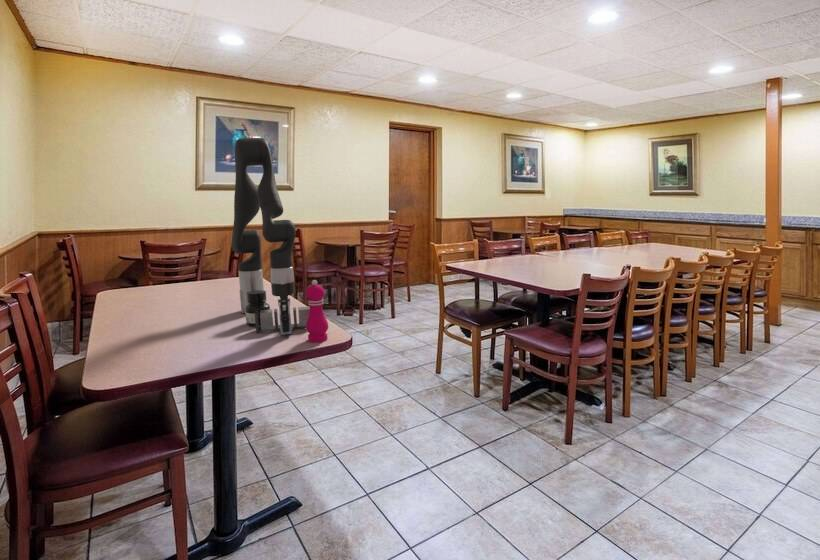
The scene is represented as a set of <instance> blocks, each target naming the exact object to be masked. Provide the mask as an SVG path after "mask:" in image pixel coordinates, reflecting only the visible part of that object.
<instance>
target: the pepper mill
mask: <svg viewBox="0 0 820 560" xmlns="http://www.w3.org/2000/svg"><path fill="white" fill-rule="evenodd" d="M325 293H326V292H325V288H324V287H323V286H322V285H320V284H318V281H317V280H316V279H313V280H312V281H311V284H310V285H309V286H307V288H306V289H305V297H306V298H307V299H308V300H307V305H308V306H309V308H310V313H309V317H308V320H307V323H306V329H305V330H306V332H308V335H307V339H308V342H309V341H310V343H314V342H318V343H323V341H324V342H326V341H327V340H328V333H327V331H328V330H329V323H328V320H327V317H326V316H325V314H324V310H323V305H324V299H323V298H324V296H325Z"/></svg>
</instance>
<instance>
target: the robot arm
mask: <svg viewBox="0 0 820 560" xmlns="http://www.w3.org/2000/svg"><path fill="white" fill-rule="evenodd" d="M271 153H272V152H271V149H270V146H269V143H268V141H267V140H266V139H265V138H263V137H246V138H245V137H244V138H243V137H241V138H238V139H236V140H235V144H234V165H235V167H234V168H235V180H234V181H235V183H234V184H235V186H234V195H233V196H234V200H233V201H234V202H233V207H234V209H233V212H234V213H233V215H234V216H233V227H232V234H231V247H232V250H233V252H234V253H235V254H240V255H241V254H242V255H243V254H251V256H250V257H248V258H247V259H246V260H243V261H240V262H239V263H238V265H237V269H238V281H239V299H240V300H239V301H240V307H241V309H240V311H241V314H245V307H246V306H247V305H248V304H249V303H248V301H247V292H249V291H255V290H264V275H263V264H262V261H263V260H262V240H261V234H262V237H263V239H264V241H266V242H268V243H281V242H282V243H281V246H279V247H278V248H275V249H271V251H270V252H269V261H270V283H271V284H270V285H271V286H270V287H271V295H272V296H274V297H279V299H277V305H278V309H279V310H278V312H279V313H280V315H281V321H282V328H283V332H289V314H290V315H291V298H289V296H292V295H293V296H294V294H296V286H295V274H294V268H293V267H294V266H293V247H294V243H295V239H296V233H297V232H296V229H297V228H296V225H295V223H294V222H293V221H292V220H291V219H279V220H277V219H276V218H279V217H281V216H282V215H283V213H284V207H283V204H282V203H283V202H282V201H281V198H280V195H279V191H278V187H277V181H276V176H275V169H274V165H273V163H274V162H273V158H272V154H271ZM253 166H255V167H257V166H262V168H263V169H262V170H263V171H262V177H261V179H260V182H259V184H258V186H257V184H256V183H255V182H254V181H253V180H252V179H251V177H250V175H249V173H248V172H247V168H248V167H253ZM260 210H261V217H262V218H261V219H262V224H261V225H262V229H261V234H260V231H259V230H257V229H249V230H248V229H247V230H246V227H247V226H248V224H250V223H251V222H252V221H253V220H254V218H255V217H256V216H257V215H258V213H259V211H260ZM274 219H275V220H274ZM264 291H265V290H264ZM279 313H278V314H279ZM280 315H279V316H280ZM283 315H287V317H283Z"/></svg>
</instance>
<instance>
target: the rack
mask: <svg viewBox="0 0 820 560" xmlns="http://www.w3.org/2000/svg"><path fill="white" fill-rule="evenodd" d="M292 311H293V314H292V315H293V323H291V330H292V331H293V330H294V329H297V330H306V329H305V328H306V323H307V320H308V317H309V313H310V307H309V305H308V306H298V307H292ZM297 312H298V320H297ZM273 314H274V315H273ZM278 315H279V313H278V308H274V309H272V308H270V310H260V321H261V326H260V325H259V313H258V311H255V324H256V326H255V334H261V333H262V334H263V333H273V332H281V329H280V324H279V316H278ZM294 331H295V330H294Z"/></svg>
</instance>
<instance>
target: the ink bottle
mask: <svg viewBox="0 0 820 560" xmlns="http://www.w3.org/2000/svg"><path fill="white" fill-rule="evenodd" d="M247 301H248V303H249V304H248V305H247V306H246V307H245V313H244V314H245V323H246V325H247V326H251V327H256V324H255V311H258V313H259V325H260V327H261V321H260V310H270V309H271V305H270V304H269V303H268V302H267V291H266V290H255V291H249V292H247Z"/></svg>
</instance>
